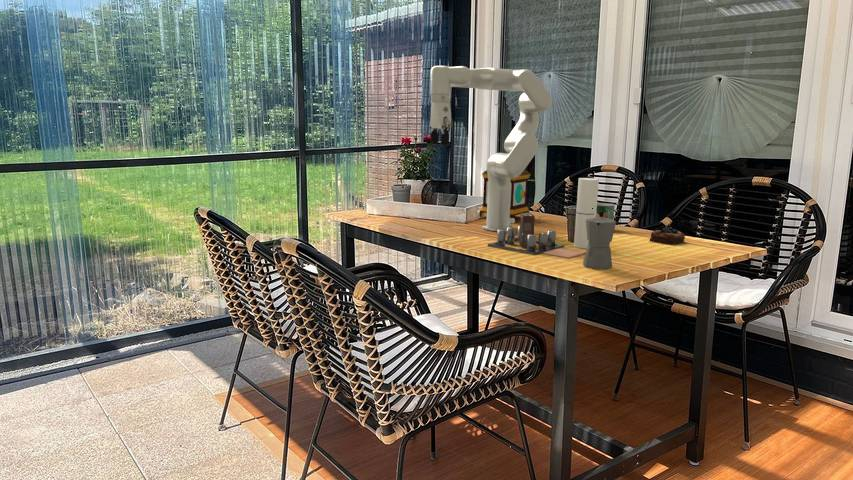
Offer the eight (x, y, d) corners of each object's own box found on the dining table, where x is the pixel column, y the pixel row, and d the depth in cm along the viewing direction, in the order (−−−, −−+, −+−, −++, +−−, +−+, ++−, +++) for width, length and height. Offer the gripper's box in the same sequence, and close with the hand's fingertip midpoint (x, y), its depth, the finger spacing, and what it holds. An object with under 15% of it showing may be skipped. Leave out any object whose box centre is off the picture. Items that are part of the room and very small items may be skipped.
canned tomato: (614, 229, 282) (616, 204, 280) (610, 232, 275) (612, 206, 273) (595, 227, 286) (597, 202, 284) (591, 230, 279) (593, 204, 277)
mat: (560, 249, 237) (561, 247, 237) (585, 253, 230) (585, 252, 230) (542, 253, 228) (542, 252, 228) (568, 258, 221) (568, 257, 221)
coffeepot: (610, 272, 203) (614, 215, 200) (579, 269, 207) (583, 212, 203) (615, 262, 217) (619, 208, 214) (586, 259, 221) (590, 206, 217)
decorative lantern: (514, 223, 291) (517, 155, 286) (475, 218, 302) (477, 152, 296) (532, 217, 308) (536, 153, 302) (495, 213, 318) (498, 151, 313)
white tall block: (569, 245, 245) (574, 178, 240) (585, 244, 247) (590, 177, 243) (581, 249, 238) (586, 180, 233) (597, 247, 241) (602, 179, 236)
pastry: (646, 241, 257) (647, 226, 256) (661, 238, 265) (662, 224, 264) (672, 246, 249) (674, 231, 248) (687, 242, 257) (688, 227, 256)
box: (518, 245, 242) (520, 212, 240) (530, 245, 243) (532, 213, 240) (521, 248, 236) (523, 215, 234) (533, 248, 237) (535, 215, 234)
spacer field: (518, 239, 253) (519, 223, 252) (564, 247, 240) (565, 231, 239) (487, 246, 239) (488, 229, 238) (534, 254, 226) (535, 237, 225)
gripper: (459, 99, 246) (457, 145, 250) (440, 99, 262) (439, 142, 265) (441, 98, 243) (440, 145, 247) (422, 99, 259) (422, 142, 262)
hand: (439, 143), depth 256 cm, fingers open, 9 cm apart
